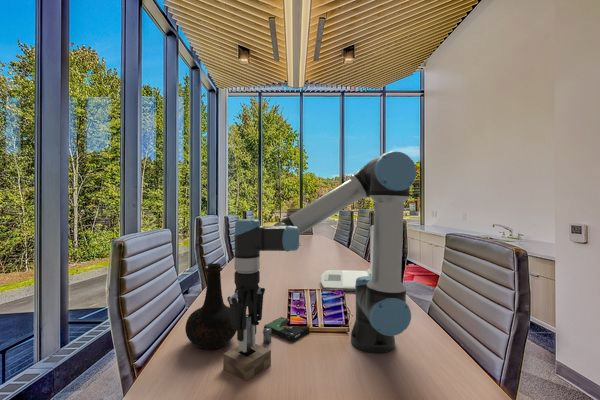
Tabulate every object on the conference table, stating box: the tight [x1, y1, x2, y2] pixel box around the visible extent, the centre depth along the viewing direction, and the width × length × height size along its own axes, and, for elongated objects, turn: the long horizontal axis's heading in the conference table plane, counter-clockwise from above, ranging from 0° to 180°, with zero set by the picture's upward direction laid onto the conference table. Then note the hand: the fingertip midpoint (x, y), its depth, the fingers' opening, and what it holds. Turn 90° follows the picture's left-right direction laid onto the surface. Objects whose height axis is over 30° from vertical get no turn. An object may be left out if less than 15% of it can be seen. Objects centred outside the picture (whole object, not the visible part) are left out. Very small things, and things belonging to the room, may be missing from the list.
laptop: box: [320, 224, 374, 292], centre depth 181 cm, size 42×33×35 cm
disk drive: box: [263, 316, 310, 343], centre depth 113 cm, size 10×3×15 cm
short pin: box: [262, 327, 272, 345], centre depth 105 cm, size 3×3×4 cm
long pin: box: [242, 313, 251, 357], centre depth 89 cm, size 3×3×14 cm
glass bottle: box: [184, 262, 237, 350], centre depth 104 cm, size 18×18×28 cm
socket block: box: [222, 343, 272, 382], centre depth 89 cm, size 10×10×4 cm
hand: (246, 348), depth 89 cm, fingers closed on long pin, 3 cm apart
